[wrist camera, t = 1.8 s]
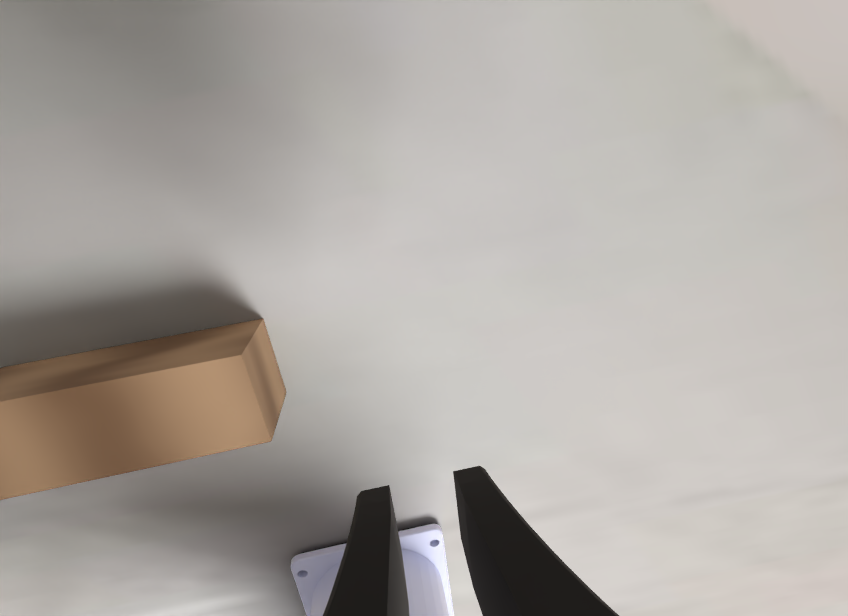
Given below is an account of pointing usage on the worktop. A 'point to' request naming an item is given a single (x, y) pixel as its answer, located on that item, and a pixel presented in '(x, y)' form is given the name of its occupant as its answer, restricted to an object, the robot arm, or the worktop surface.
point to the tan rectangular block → (136, 406)
